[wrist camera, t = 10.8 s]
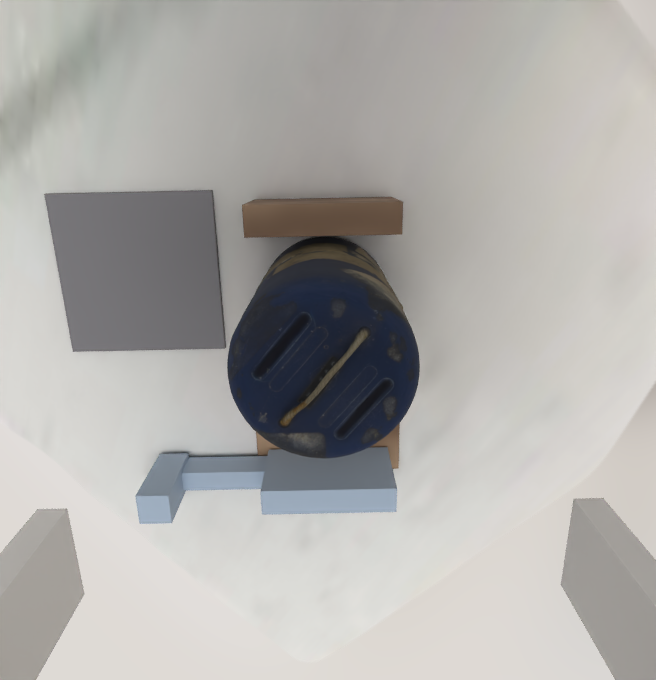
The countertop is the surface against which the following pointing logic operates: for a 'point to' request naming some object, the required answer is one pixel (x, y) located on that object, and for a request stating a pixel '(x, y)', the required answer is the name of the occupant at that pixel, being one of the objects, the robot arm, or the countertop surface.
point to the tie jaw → (274, 482)
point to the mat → (138, 269)
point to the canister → (323, 352)
